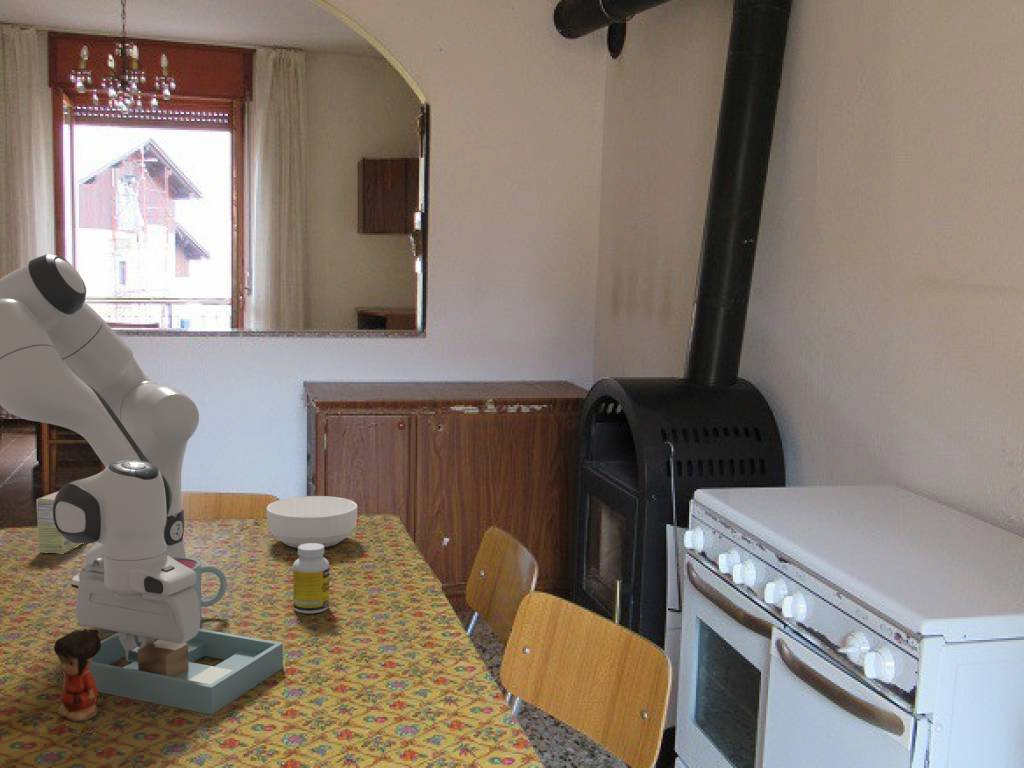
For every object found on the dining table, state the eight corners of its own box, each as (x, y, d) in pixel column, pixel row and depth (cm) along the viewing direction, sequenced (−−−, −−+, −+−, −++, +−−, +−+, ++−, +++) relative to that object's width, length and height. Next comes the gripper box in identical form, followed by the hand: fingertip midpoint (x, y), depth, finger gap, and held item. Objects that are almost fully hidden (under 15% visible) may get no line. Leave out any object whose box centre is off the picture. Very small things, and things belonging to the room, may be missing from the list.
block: (138, 676, 152) (137, 650, 152) (161, 664, 157) (160, 638, 156) (166, 682, 150) (165, 655, 150) (188, 669, 155) (188, 643, 154)
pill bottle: (321, 616, 184) (321, 552, 183) (287, 613, 186) (286, 550, 184) (334, 604, 191) (334, 543, 189) (301, 601, 192) (301, 540, 190)
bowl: (349, 557, 220) (349, 518, 219) (256, 554, 220) (256, 516, 219) (363, 532, 240) (363, 496, 239) (278, 530, 240) (278, 494, 239)
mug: (150, 633, 174) (149, 575, 173) (142, 615, 183) (141, 560, 181) (233, 621, 181) (232, 566, 180) (221, 605, 189) (221, 551, 188)
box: (65, 540, 228) (63, 487, 226) (89, 542, 227) (87, 489, 226) (37, 553, 218) (35, 498, 216) (62, 555, 217) (60, 500, 215)
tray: (64, 684, 153) (63, 658, 153) (146, 642, 170) (145, 619, 170) (211, 714, 145) (211, 687, 144) (283, 667, 161) (282, 643, 161)
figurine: (65, 703, 147) (62, 622, 146) (105, 703, 148) (103, 622, 146) (49, 723, 141) (46, 639, 139) (91, 723, 141) (89, 638, 140)
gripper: (64, 567, 154) (66, 657, 155) (178, 586, 147) (179, 680, 148) (95, 556, 160) (97, 643, 161) (206, 574, 152) (206, 664, 154)
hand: (137, 661), depth 155 cm, fingers closed
